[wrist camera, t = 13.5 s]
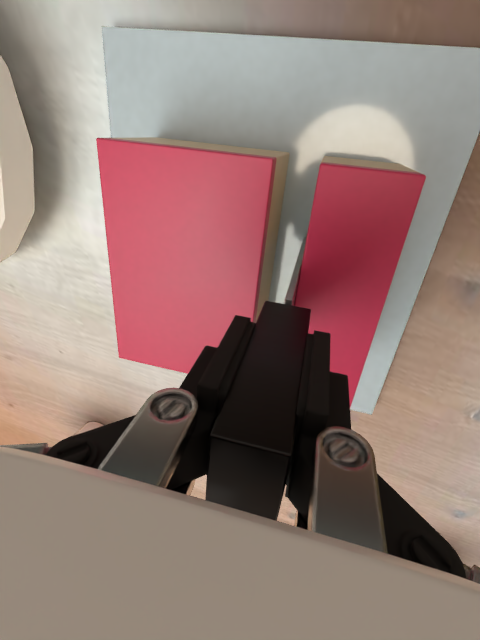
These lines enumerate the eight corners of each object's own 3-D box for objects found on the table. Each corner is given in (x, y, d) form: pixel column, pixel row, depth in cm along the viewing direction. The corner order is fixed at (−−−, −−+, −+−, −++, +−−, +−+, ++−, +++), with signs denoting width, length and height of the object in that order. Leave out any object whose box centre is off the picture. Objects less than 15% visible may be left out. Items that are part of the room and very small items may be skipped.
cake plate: (502, 53, 16) (511, 49, 15) (370, 406, 27) (371, 414, 26) (111, 30, 19) (101, 25, 18) (135, 352, 30) (129, 359, 29)
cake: (290, 152, 19) (273, 158, 14) (263, 335, 25) (244, 387, 20) (156, 137, 20) (95, 137, 15) (161, 314, 26) (118, 358, 21)
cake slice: (400, 163, 18) (427, 175, 13) (346, 351, 24) (349, 410, 19) (323, 155, 19) (320, 163, 13) (289, 340, 25) (277, 394, 19)
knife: (320, 240, 21) (293, 449, 7) (311, 286, 22) (274, 532, 8) (290, 236, 21) (209, 427, 7) (283, 281, 22) (204, 512, 9)
